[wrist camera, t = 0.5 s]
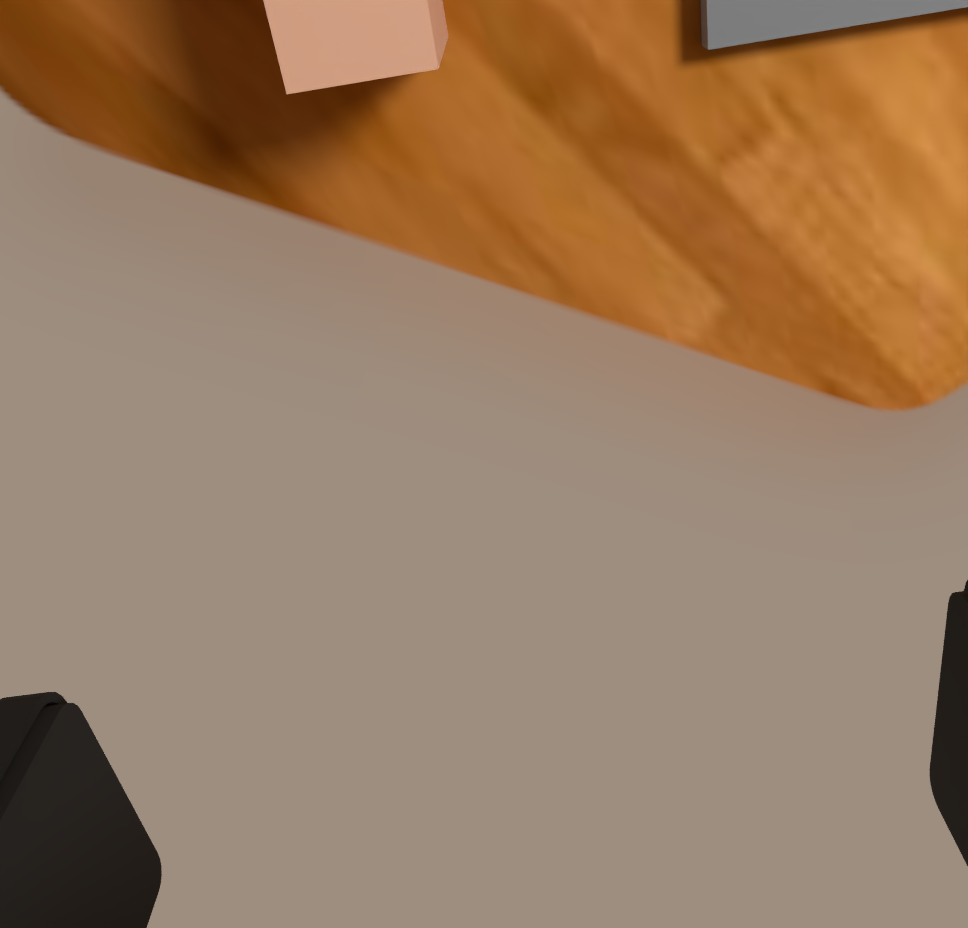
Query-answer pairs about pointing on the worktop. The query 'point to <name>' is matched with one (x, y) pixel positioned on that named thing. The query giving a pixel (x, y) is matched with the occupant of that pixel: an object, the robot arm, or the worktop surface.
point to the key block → (354, 40)
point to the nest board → (801, 17)
